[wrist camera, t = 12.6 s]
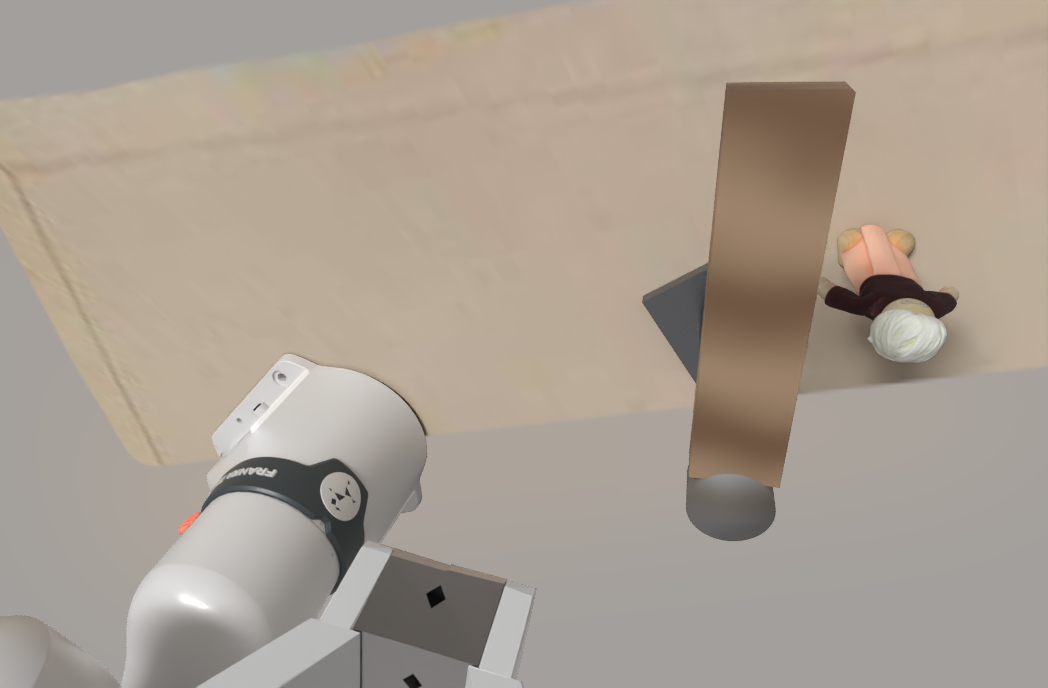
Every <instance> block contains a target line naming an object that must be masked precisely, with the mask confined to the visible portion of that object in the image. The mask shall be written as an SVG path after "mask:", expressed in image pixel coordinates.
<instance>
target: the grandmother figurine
mask: <svg viewBox="0 0 1048 688" xmlns="http://www.w3.org/2000/svg"><path fill="white" fill-rule="evenodd" d="M914 245H915V239H914V237H913V236H912V234H910V233H909V232H906V231H903V230H894V231H891V232H889V233H887V234H886V233H885V231H884V229H882V228H881V227H879V226H876V225H866V226H863V227H862V228H861V229H850V230H847V231H845V232H844V233H842V234H841V235H840V237H839V239H838V262H839V264H840V266H841V267H843V268H844V271H845V273H846V275H847V277H848V279H849V281H850V282H851V283H852V285H853V286H854V288H855V290H856V292H857V294H858V295H856V294H855V293H853V292H852V291H850V290H848V289H845V288H842V287H840V286H836V285H835V284H833V283H830V281H829V280H828V279H826V278H824V277H820V280H819V285H818V290H817V294H819V295H820V296H821V298H823V299H824V300H825V304H826V305H828V306H830V307H832V308H836V309H839V310H843V311H846V312H849V313H852V314H856V315H861V316H866V317H868V318H870V319H872V320H873V323H872V324H871V328H870V336H869V337H868V338H867V339H868V340H869V342H870V343H871V344H872V345H873V346H874V349H875V350H876V352H877V353H878V354H880V355H881V356H882V357H883V358H885V359H888V360H892V361H895V362H901V363H908V362H915V363H919V362H924V361H927V360H929V359H930V358H931V357H933V356H934V355H935V354H936V353H937V352H938V351H939V350H940V349H941V347H942V346H943V344H944V342H945V339H946V337H947V331H946V327H945V326H944V324H943V323H942V322H941V321H940V320H938V319H939V318H941V317H943V316H944V315H946V314H948V313H949V312H951V311H952V310H954V308H955V307H956V304H957V302H956V301H957V299H958V297H959V293H958V291H957V290H956V289H955V288H953V287H944V288H942V289H941V290H940V291H939V292H934V291H924V290H923V288H922V287H921V284H920V282H919V280H918V278H917V277H916V275H915V273H914V271H913V268H912V265H911V263H910V261H909V259H908V258H907V256H908V255H909V254H910V252H911V251H912V250H913V248H914Z"/></svg>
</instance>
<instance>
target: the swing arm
mask: <svg viewBox="0 0 1048 688" xmlns="http://www.w3.org/2000/svg"><path fill="white" fill-rule="evenodd" d="M855 93H856V92H855V91H854V90H853V89H852V88H851V87H850V86H849V85H848V84H847V83H846V82H744V83H726V91H725V101H724V111H723V121H722V131H721V141H720V151H719V161H718V171H717V181H716V191H715V201H714V211H713V221H712V231H711V241H710V251H709V261H708V271H707V281H706V291H705V301H704V311H703V321H702V331H701V341H700V351H699V361H698V371H697V381H696V391H695V401H694V411H693V422H692V431H691V441H690V452H689V454H690V455H689V466H688V470H687V494H686V510H687V514H688V517H689V519H690V521H691V522H692V524H693V525H694V526H695V527H696V528H697V529H699V530H700V531H701V532H703V533H704V534H706V535H708V536H711V537H713V538H716V539H720V540H726V541H741V540H747V539H751V538H754V537H756V536H758V535H760V534H762V533H763V532H765V531H766V530H767V529H768V528H769V527H770V525H771V524H772V522H773V520H774V518H775V512H776V511H775V501H774V493H773V487H778V488H779V487H780V482H781V477H782V472H783V467H784V462H785V457H786V452H787V446H788V441H789V436H790V431H791V425H792V420H793V415H794V410H795V404H796V400H797V394H798V389H799V384H800V379H801V374H802V368H803V363H804V358H805V353H806V348H807V342H808V337H809V332H810V327H811V322H812V316H813V311H814V306H815V301H816V296H817V290H818V285H819V280H820V275H821V270H822V264H823V259H824V254H825V249H826V244H827V238H828V233H829V228H830V223H831V218H832V212H833V207H834V202H835V197H836V192H837V186H838V181H839V176H840V171H841V166H842V160H843V155H844V150H845V145H846V140H847V134H848V129H849V124H850V119H851V114H852V109H853V103H854V98H855Z"/></svg>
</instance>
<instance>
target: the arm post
mask: <svg viewBox="0 0 1048 688" xmlns="http://www.w3.org/2000/svg"><path fill="white" fill-rule="evenodd" d="M707 271H708V263H707V264H705V265H703V266H701V267H699V268H697V269H695V270H693V271H691V272H689V273H687V274H685V275H684V276H682V277H680V278H678V279H676V280H674V281H672V282H670V283H668V284H666V285H664V286H662V287H660V288H658V289H656V290H654V291H652V292H650V293H648V294H646V295H644V296H643V301H642V303H643V304H644V306H645V307H646V309H647V310H648V312H649V313H650V315H651V316H652V318H653V319H654V321H655V322H656V324H657V325H658V327H659V328H660V330H661V331H662V333H663V334H664V336H665V337H666V339H667V340H668V342H669V343H670V345H671V346H672V348H673V349H674V351H675V352H676V354H677V355H678V357H679V358H680V360H681V361H682V363H683V364H684V366H685V367H686V369H687V370H688V372H689V373H690V375H691V377H692V378H693V380H694V381H695V383H696V381H697V371H698V361H699V351H700V341H701V331H702V321H703V311H704V301H705V291H706V281H707Z"/></svg>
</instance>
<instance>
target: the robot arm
mask: <svg viewBox="0 0 1048 688" xmlns="http://www.w3.org/2000/svg"><path fill="white" fill-rule="evenodd" d="M283 374H284V375H285V376H286V377H285V376H284V375H283ZM212 441H213V444H214V447H215V449H216V451H217V453H218V455H219V457H220V460H219V462H218V463H217V464H216V465H215V466H214V467H213V468H212V469H211V470H210V471H209V473H208V474H207V484H208V487H209V490H210V493H209V494H208V496H207V498H206V501H205V503H204V505H203V507H202V510H201V513H200V512H197V513H195V514H193V515H192V516H190V517H189V518H188V519H187V520H186V521H185V522H184V523H183V524H182V525H181V526H180V528H179V530H178V531H179V533H180V534H182V536H181V537H180V538H179V539H178V540H177V541H176V542H175V544H174V545H173V546H172V547H171V548H170V549H169V551H167V553H166V554H165V555H164V556H163V557H162V558H161V559H160V561H159V562H158V563H157V564H156V565H155V566H154V567H153V569H152V570H151V571H150V572H149V573H148V574H147V575H146V576H145V578H144V579H143V580H142V582H141V583H140V585H139V587H138V589H137V591H136V592H135V595H134V597H133V600H132V602H131V605H130V609H129V614H128V620H127V653H126V664H125V669H124V674H123V679H122V682H121V686H120V684H119V683H118V682H117V680H116V679H115V678H114V676H113V675H112V674H111V673H110V671H109V670H108V669H107V668H106V667H105V666H104V665H103V664H101V663H100V662H99V661H97V660H96V659H95V658H93V657H92V656H91V655H89V654H88V653H87V652H85V651H84V650H83V649H81V648H80V647H79V646H77V645H76V644H75V643H73V642H72V641H70V640H69V639H68V638H66V637H64V636H63V635H61V634H60V633H58V632H57V631H55V630H54V629H53V628H51V627H50V626H48V625H47V624H45V623H44V622H42V621H40V620H38V619H36V618H32V617H29V616H17V615H16V616H3V617H0V688H524V686H523V683H522V681H520V680H517V679H516V678H517V674H518V670H519V666H520V662H521V658H522V653H523V649H524V644H525V640H526V635H527V631H528V626H529V622H530V617H531V613H532V608H533V603H534V599H535V594H536V588H533V587H530V586H526V585H523V584H519V583H515V582H512V581H508V580H507V579H504V578H500V577H496V576H493V575H489V574H485V573H481V572H477V571H474V570H470V569H466V568H463V567H459V566H455V565H447V564H444V563H441V562H437V561H434V560H431V559H428V558H425V557H421V556H418V555H415V554H412V553H408V552H405V551H402V550H399V549H396V548H392V547H389V546H385V545H382V544H380V543H381V542H382V540H383V539H384V537H385V536H386V534H387V533H388V531H389V530H390V528H391V527H392V525H393V524H394V522H395V521H396V519H397V518H398V516H399V515H400V513H405V512H410V511H413V510H415V509H416V508H417V506H418V505H419V504H420V502H421V499H422V494H421V486H420V476H421V473H422V471H423V468H424V466H425V462H426V457H427V445H426V439H425V435H424V432H423V429H422V427H421V425H420V423H419V421H418V419H417V417H416V416H415V414H414V413H413V411H412V410H411V409H410V407H409V406H408V405H407V404H406V403H405V402H404V401H403V400H402V399H401V398H400V397H399V396H398V395H397V394H396V393H395V392H393V391H392V390H391V389H390V388H388V387H387V386H385V385H384V384H382V383H381V382H379V381H377V380H375V379H373V378H371V377H369V376H367V375H365V374H362V373H359V372H356V371H353V370H348V369H343V368H335V367H326V366H320V365H317V364H315V363H313V362H310V361H308V360H306V359H304V358H301V357H299V356H296V355H293V354H285V355H283V356H282V357H281V358H280V359H279V360H278V361H277V362H276V363H275V365H274V366H273V367H272V368H271V369H270V370H269V371H268V372H267V374H266V375H265V376H264V377H263V378H262V379H261V380H260V381H259V383H258V384H257V385H256V386H255V387H254V388H253V389H252V390H251V392H250V393H249V394H248V395H247V396H246V397H245V398H244V399H243V401H242V402H241V403H240V404H239V405H238V406H237V407H236V408H235V409H234V411H233V412H232V413H231V414H230V415H229V416H228V417H227V418H226V420H225V421H224V422H223V423H222V424H221V425H220V426H219V428H218V429H217V430H216V431H215V433H214V434H213V436H212ZM335 591H336V592H335ZM334 592H335V594H334V596H333V597H332V599H331V601H330V603H329V604H328V606H327V608H326V609H325V611H324V613H323V615H322V616H321V618H320V620H318V619H316V618H317V616H318V614H319V612H320V610H321V609H322V607H323V605H324V604H325V602H326V600H327V598H328V596H329V595H331V594H333V593H334Z"/></svg>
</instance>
